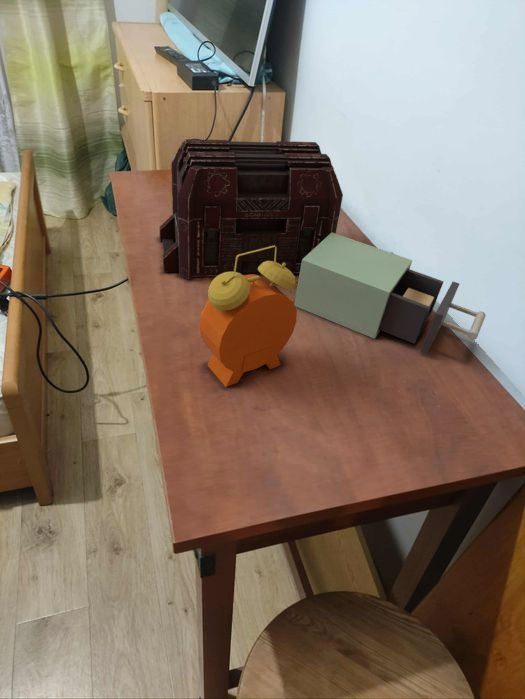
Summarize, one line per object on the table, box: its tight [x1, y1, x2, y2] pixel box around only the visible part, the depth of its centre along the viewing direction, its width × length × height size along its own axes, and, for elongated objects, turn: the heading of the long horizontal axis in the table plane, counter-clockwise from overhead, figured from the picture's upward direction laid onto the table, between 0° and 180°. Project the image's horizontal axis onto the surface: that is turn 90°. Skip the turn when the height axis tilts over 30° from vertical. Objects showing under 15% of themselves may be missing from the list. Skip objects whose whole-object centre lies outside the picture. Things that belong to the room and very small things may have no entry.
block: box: [403, 288, 434, 323], centre depth 87 cm, size 5×5×5 cm
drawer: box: [379, 268, 487, 354], centre depth 87 cm, size 20×11×8 cm, turn 60°
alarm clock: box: [198, 246, 298, 388], centre depth 72 cm, size 13×6×20 cm, turn 125°
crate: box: [159, 138, 344, 280], centre depth 97 cm, size 35×19×21 cm, turn 101°
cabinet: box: [294, 232, 413, 339], centre depth 90 cm, size 16×13×10 cm
